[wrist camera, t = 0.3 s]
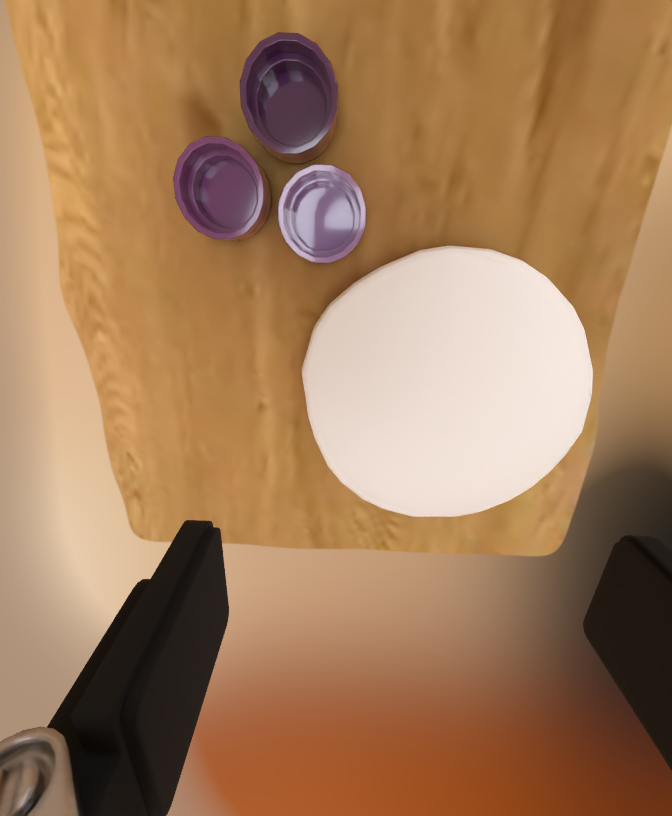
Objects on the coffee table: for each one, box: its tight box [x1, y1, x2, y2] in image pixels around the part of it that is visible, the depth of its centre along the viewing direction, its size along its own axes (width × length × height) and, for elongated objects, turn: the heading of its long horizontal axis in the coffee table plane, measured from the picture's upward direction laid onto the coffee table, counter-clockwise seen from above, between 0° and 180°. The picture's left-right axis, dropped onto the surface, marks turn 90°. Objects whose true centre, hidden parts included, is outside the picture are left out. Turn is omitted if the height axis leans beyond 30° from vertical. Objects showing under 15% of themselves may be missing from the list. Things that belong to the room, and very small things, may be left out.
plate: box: [301, 245, 593, 517], centre depth 36 cm, size 28×6×27 cm
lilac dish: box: [278, 164, 366, 263], centre depth 31 cm, size 7×7×4 cm
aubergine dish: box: [240, 32, 338, 163], centre depth 28 cm, size 7×7×4 cm
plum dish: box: [173, 136, 271, 241], centre depth 31 cm, size 7×7×4 cm
